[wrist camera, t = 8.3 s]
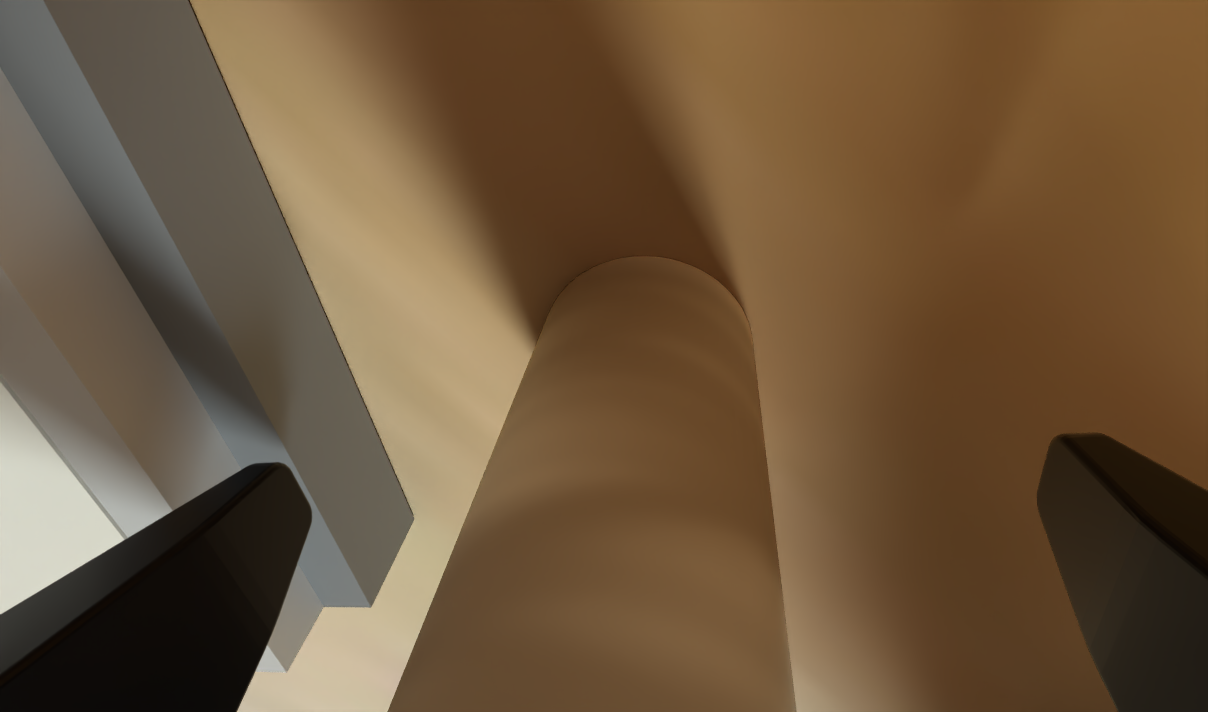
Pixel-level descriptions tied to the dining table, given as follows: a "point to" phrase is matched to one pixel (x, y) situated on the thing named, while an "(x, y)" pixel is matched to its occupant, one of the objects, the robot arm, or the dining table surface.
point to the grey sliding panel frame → (172, 295)
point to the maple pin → (618, 519)
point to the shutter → (42, 508)
